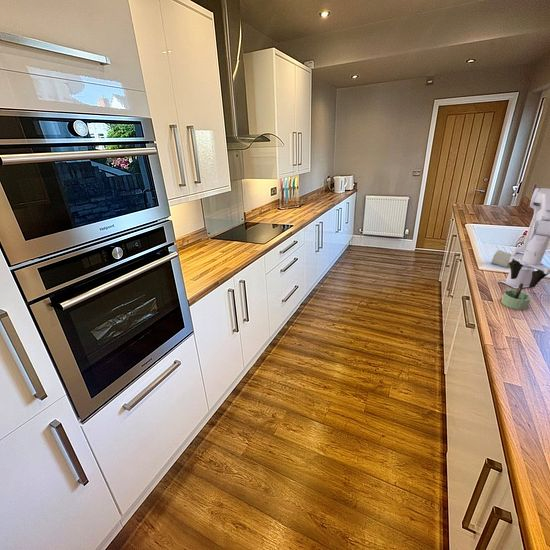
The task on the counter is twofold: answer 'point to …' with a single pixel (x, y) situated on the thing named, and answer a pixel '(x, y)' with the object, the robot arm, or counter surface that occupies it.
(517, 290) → the muddler
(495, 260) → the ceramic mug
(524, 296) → the bowl
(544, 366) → the counter surface
